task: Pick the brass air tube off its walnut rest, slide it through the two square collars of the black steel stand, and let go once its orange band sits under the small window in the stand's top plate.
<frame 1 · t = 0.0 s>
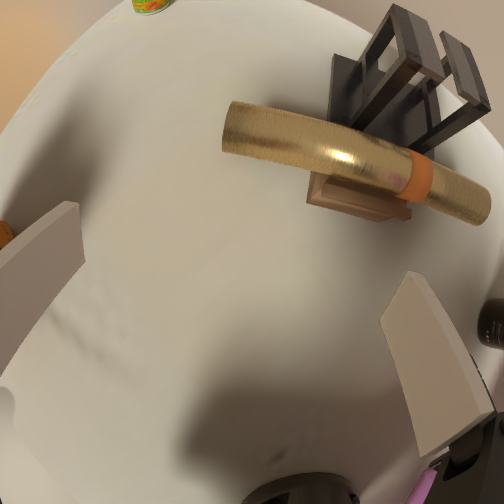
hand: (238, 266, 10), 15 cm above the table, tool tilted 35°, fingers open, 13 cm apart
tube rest: (347, 189, 27), on the table
supplement bottle 2: (152, 8, 28), on the table
collar stand: (383, 115, 28), on the table
supplement bottle: (488, 321, 27), on the table
coffee package: (12, 280, 24), on the table
air tube: (379, 164, 20), point 7 cm above the table, touching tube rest
pink table lamp: (439, 496, 25), on the table
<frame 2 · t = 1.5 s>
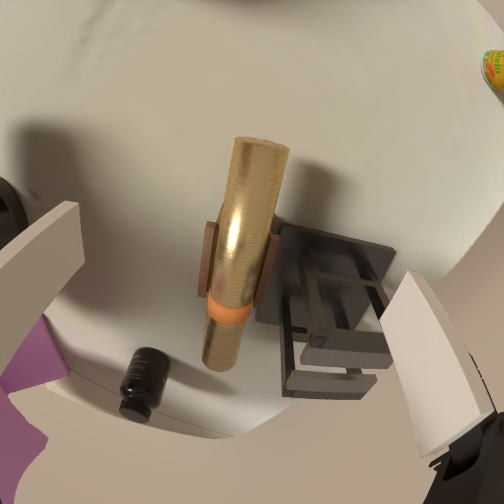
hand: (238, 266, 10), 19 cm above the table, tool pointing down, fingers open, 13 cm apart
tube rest: (240, 239, 31), on the table
supplement bottle 2: (492, 70, 18), on the table
collar stand: (322, 284, 34), on the table
supplement bottle: (152, 357, 44), on the table
air tube: (234, 277, 25), point 7 cm above the table, touching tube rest
pink table lamp: (26, 331, 46), on the table
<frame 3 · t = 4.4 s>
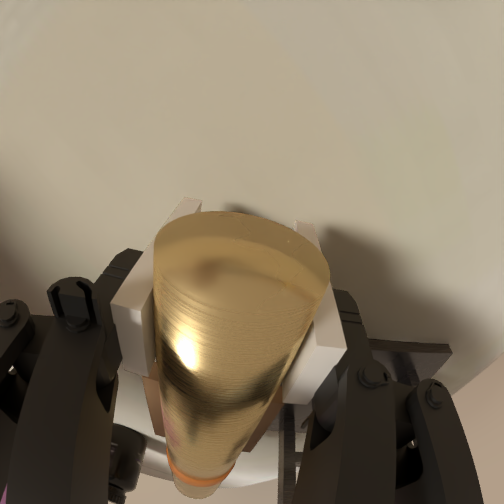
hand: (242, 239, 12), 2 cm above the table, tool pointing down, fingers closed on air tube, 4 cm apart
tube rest: (219, 347, 18), on the table
collar stand: (343, 392, 21), on the table
supplement bottle: (126, 431, 31), on the table
air tube: (203, 441, 12), point 7 cm above the table, touching gripper, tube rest
when the fingers open (4 cm above the table, at t = 13.5 s): air tube drops 1 cm, resting on collar stand.
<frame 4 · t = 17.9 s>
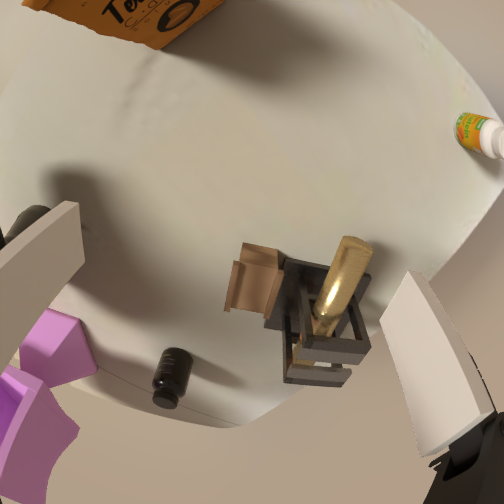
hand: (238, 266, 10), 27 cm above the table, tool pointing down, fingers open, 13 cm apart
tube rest: (254, 268, 42), on the table
supplement bottle 2: (465, 129, 29), on the table
collar stand: (315, 301, 45), on the table
supplement bottle: (178, 356, 55), on the table
coffee package: (177, 8, 24), on the table
air tube: (323, 319, 37), point 8 cm above the table, tilted 23°, touching collar stand
pink table lamp: (59, 334, 57), on the table
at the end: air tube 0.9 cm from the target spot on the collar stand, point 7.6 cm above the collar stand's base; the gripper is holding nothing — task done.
